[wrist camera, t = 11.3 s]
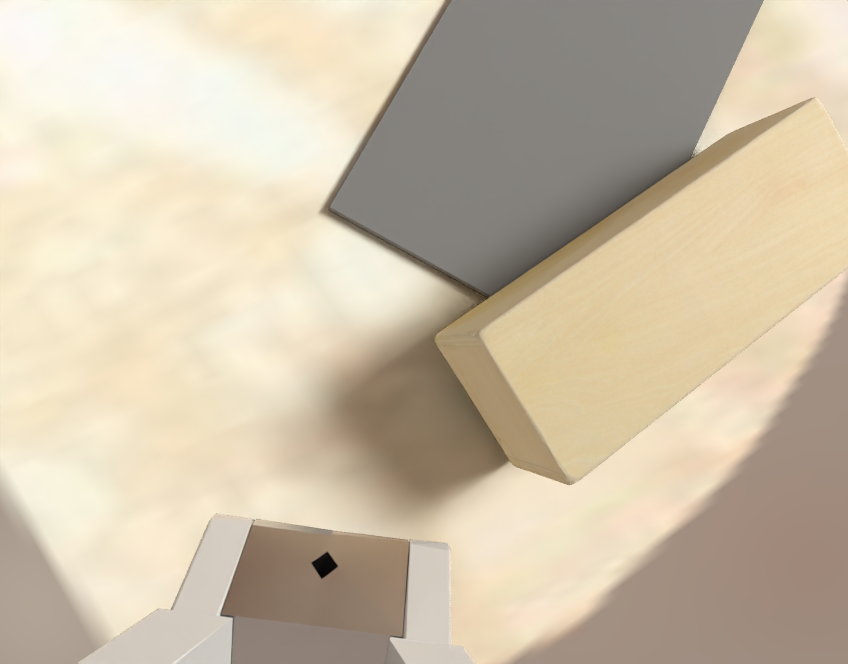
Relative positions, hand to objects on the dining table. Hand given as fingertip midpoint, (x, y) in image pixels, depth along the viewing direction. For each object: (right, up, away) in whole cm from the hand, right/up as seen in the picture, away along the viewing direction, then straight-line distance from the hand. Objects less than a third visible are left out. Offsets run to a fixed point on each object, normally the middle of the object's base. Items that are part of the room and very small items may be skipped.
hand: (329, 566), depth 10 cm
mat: (+10, +18, +33) cm, 39 cm away
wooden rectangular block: (+4, -1, +25) cm, 25 cm away
